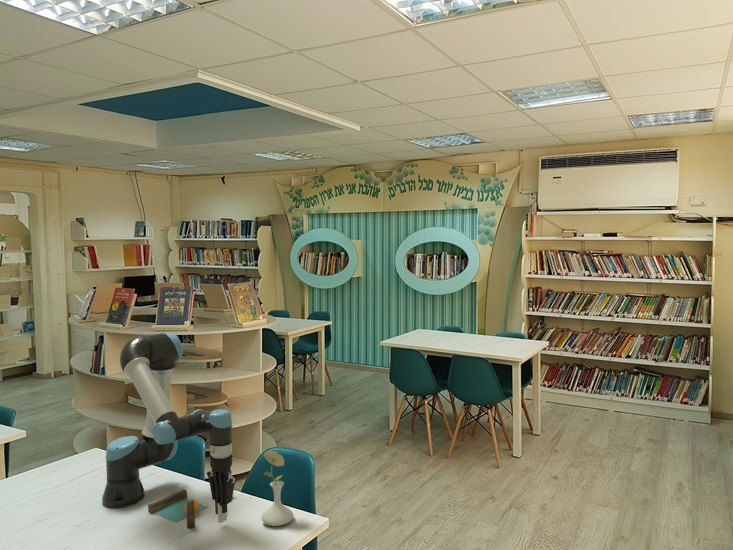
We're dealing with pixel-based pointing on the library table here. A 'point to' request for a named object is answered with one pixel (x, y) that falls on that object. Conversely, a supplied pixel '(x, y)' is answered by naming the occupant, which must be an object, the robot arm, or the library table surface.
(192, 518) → the post
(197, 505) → the ball
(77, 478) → the library table surface
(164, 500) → the stopper wall
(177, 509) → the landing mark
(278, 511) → the flower in vase
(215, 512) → the post
